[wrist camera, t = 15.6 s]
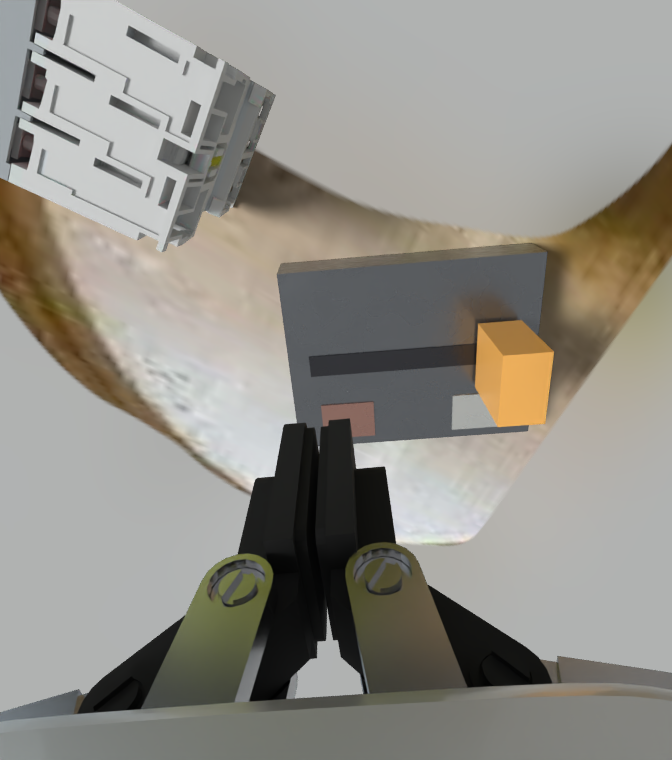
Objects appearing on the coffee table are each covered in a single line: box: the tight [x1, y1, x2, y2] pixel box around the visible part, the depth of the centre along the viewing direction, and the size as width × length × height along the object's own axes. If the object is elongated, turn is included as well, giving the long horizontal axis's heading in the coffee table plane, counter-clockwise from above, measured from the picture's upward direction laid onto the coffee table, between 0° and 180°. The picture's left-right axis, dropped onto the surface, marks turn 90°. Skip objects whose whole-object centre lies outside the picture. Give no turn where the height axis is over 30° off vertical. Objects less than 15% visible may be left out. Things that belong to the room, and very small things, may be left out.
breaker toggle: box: [475, 320, 554, 427], centre depth 33 cm, size 3×5×6 cm, turn 5°
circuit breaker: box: [0, 0, 275, 252], centre depth 24 cm, size 8×14×15 cm, turn 64°
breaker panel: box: [277, 243, 547, 446], centre depth 37 cm, size 18×14×3 cm
